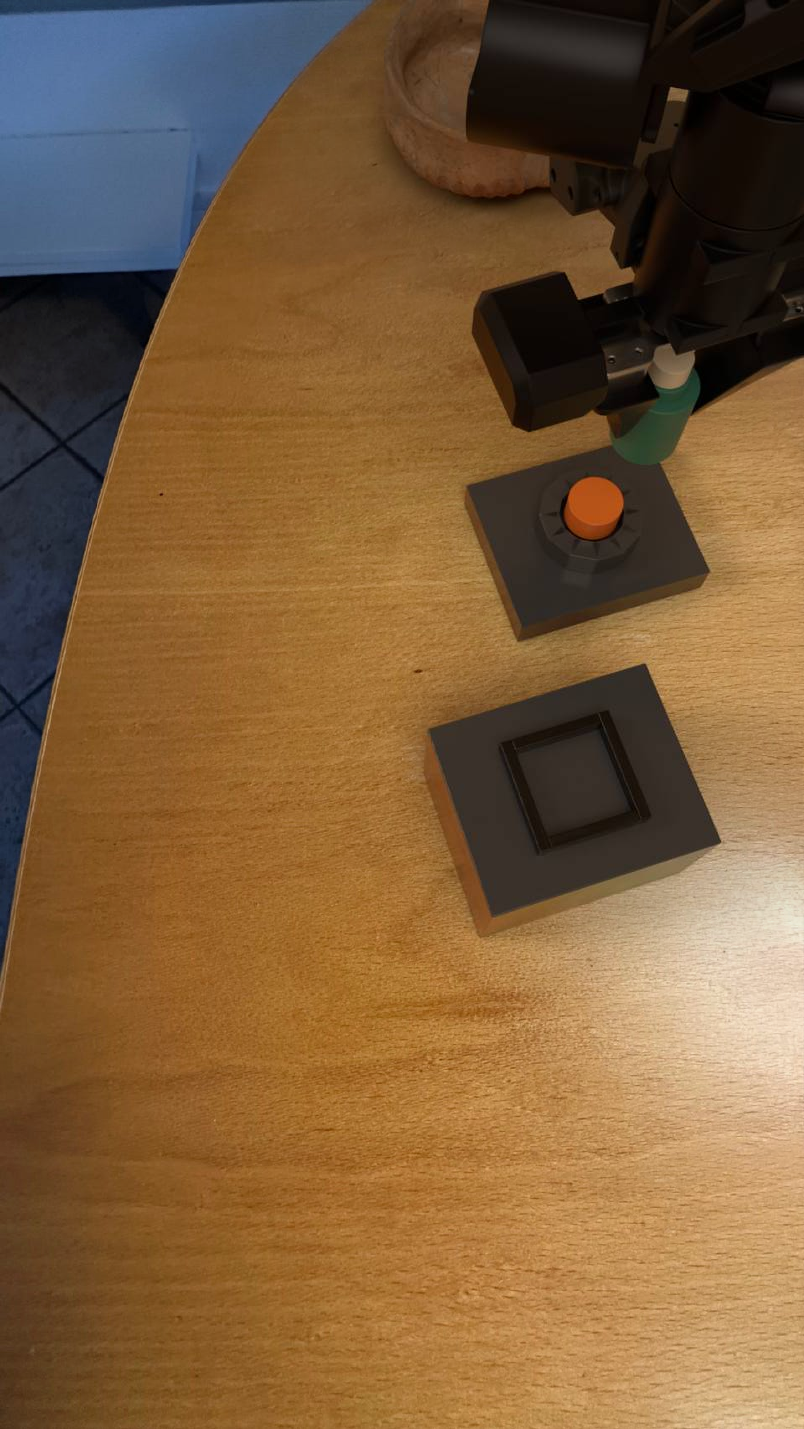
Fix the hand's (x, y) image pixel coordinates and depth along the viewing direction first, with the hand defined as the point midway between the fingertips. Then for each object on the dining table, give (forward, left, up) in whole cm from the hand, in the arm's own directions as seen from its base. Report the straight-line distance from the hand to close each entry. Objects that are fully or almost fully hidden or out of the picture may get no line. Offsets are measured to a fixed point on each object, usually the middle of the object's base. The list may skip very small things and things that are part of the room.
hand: (650, 419), depth 54 cm
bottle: (0, 0, -2) cm, 2 cm away
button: (+2, 0, -9) cm, 9 cm away
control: (+2, 0, -13) cm, 13 cm away
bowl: (-4, -31, -13) cm, 34 cm away
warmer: (+10, +16, -13) cm, 23 cm away
